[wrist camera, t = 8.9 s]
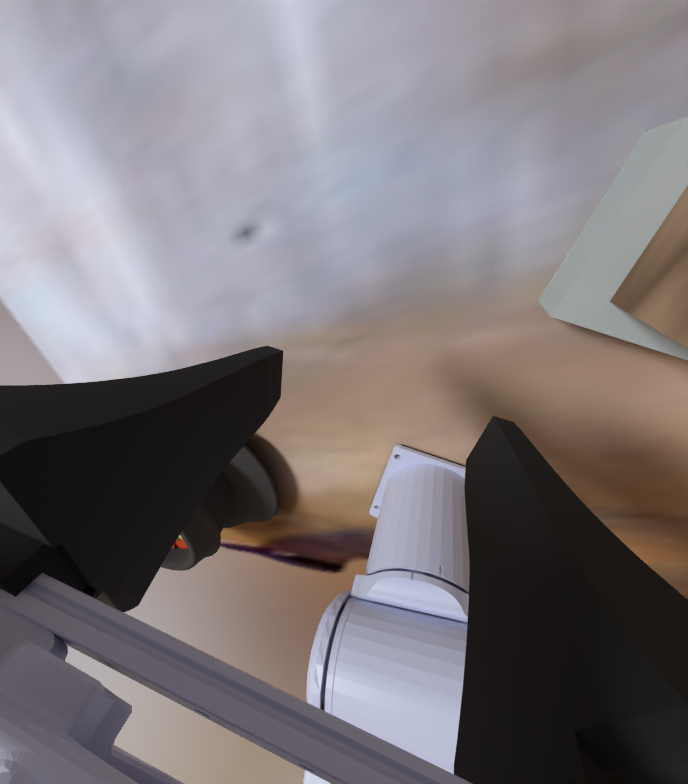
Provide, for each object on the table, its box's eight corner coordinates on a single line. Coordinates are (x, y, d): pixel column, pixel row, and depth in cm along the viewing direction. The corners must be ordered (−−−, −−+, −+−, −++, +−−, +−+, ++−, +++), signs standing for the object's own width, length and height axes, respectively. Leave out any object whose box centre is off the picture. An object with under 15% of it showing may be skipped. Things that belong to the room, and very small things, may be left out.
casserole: (151, 501, 43) (95, 557, 36) (70, 391, 34) (-25, 439, 27) (306, 527, 34) (270, 607, 28) (252, 390, 25) (181, 458, 19)
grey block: (671, 341, 15) (711, 368, 13) (535, 299, 16) (550, 316, 14) (831, 179, 11) (934, 174, 9) (639, 132, 12) (686, 116, 10)
